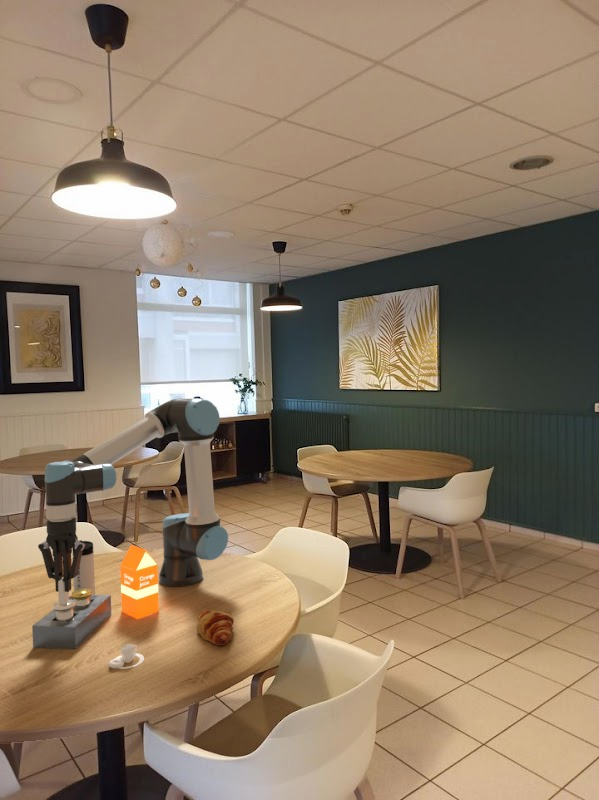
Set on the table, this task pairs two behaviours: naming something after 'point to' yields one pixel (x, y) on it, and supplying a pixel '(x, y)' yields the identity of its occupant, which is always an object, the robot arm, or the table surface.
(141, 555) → the orange juice
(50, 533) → the robot arm
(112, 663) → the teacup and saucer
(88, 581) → the travel mug
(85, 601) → the knob
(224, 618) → the croissant
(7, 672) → the table surface
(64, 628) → the mount
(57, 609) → the knob
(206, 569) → the table surface
